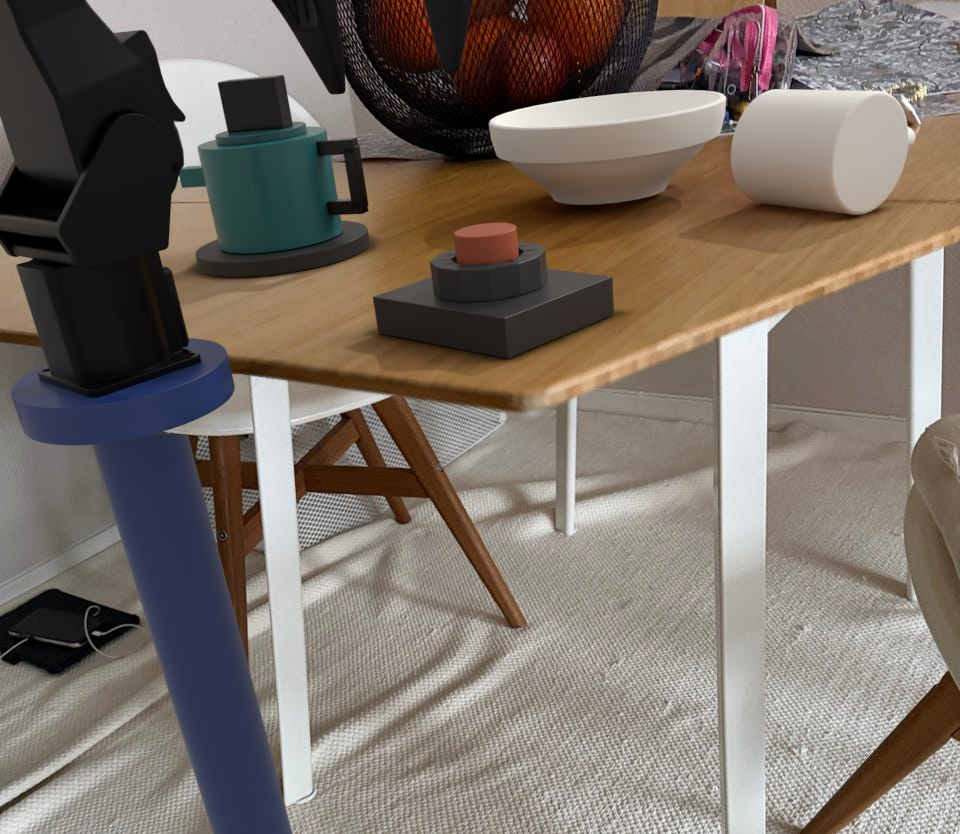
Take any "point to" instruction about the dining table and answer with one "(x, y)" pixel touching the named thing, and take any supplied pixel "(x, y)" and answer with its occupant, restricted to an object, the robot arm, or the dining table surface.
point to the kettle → (273, 173)
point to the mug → (821, 149)
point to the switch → (486, 243)
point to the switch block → (494, 304)
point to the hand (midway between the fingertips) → (397, 82)
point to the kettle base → (283, 255)
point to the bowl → (608, 142)
